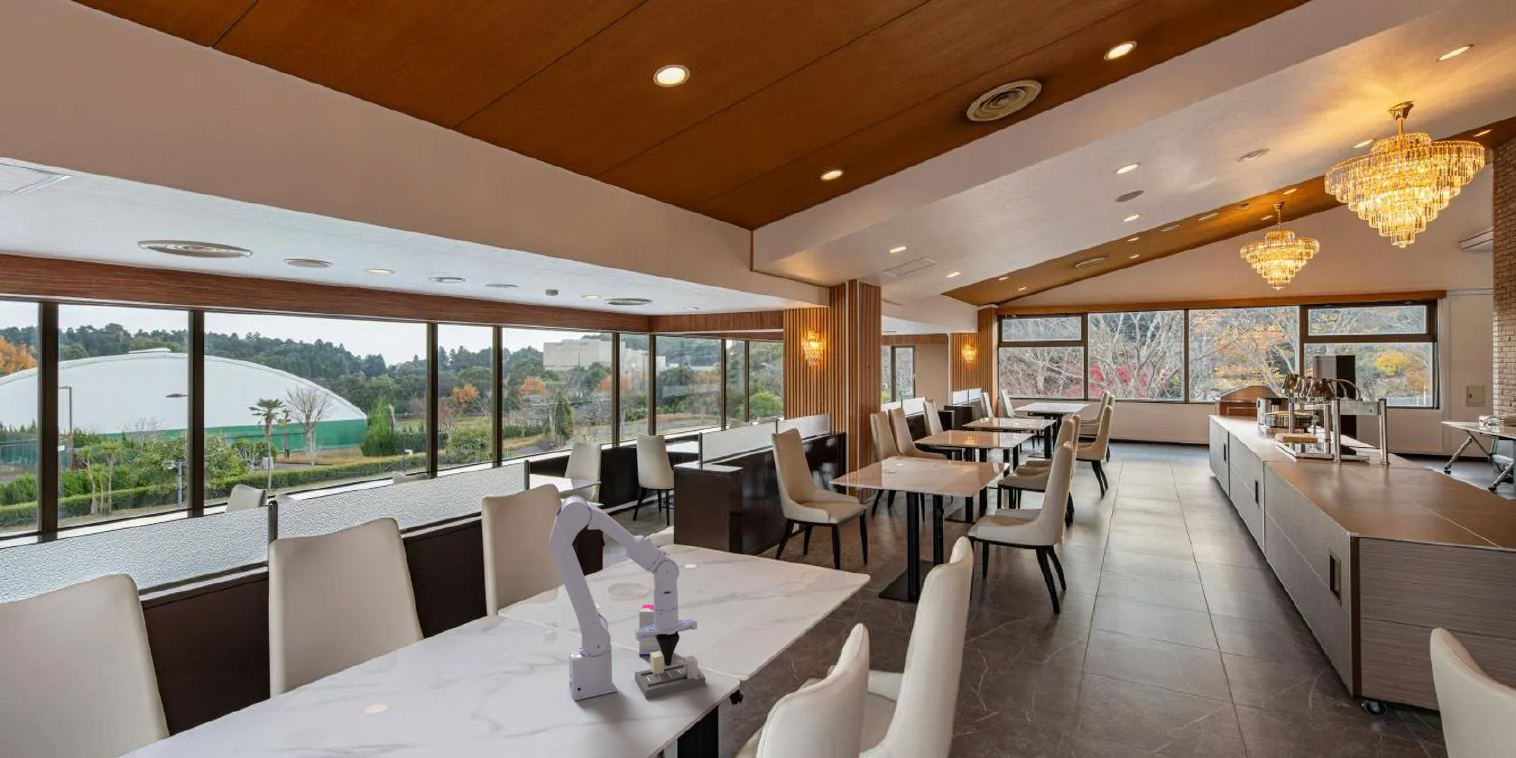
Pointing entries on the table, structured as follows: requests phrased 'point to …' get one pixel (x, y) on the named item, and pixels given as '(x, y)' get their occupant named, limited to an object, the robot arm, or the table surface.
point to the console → (666, 681)
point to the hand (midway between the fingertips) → (667, 664)
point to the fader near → (690, 667)
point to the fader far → (657, 662)
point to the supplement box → (644, 620)
